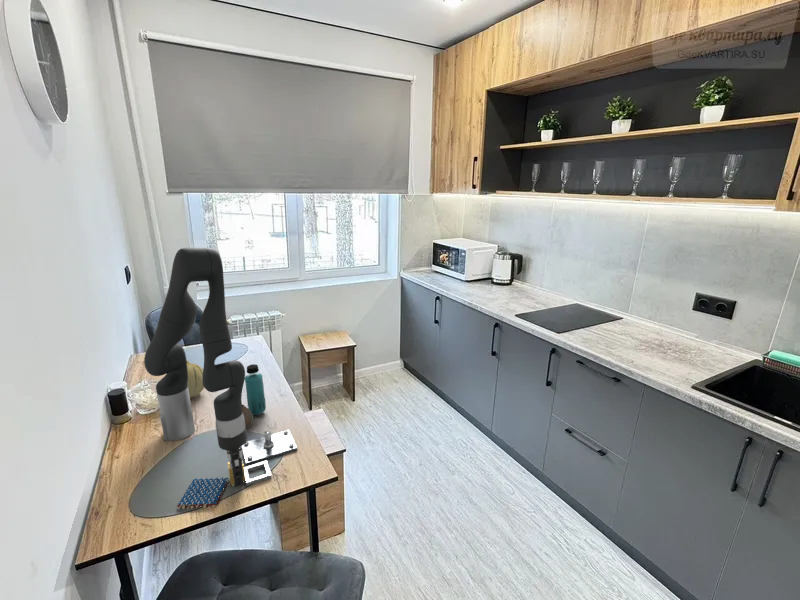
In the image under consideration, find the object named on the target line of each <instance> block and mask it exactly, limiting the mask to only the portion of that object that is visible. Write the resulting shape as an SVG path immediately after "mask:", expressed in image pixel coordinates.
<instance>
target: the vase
mask: <svg viewBox="0 0 800 600" xmlns="http://www.w3.org/2000/svg"><path fill="white" fill-rule="evenodd" d="M242 409H243V415H244V418H245V426H246V430H248V429H249V428H250V427H252V424H253V419H254V418H253V414H252V413H251V411H250V410H249V409H248V407H247V406H245V405H244V404H242Z"/></svg>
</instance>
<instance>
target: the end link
mask: <svg viewBox="0 0 800 600" xmlns="http://www.w3.org/2000/svg"><path fill="white" fill-rule="evenodd" d="M227 468H228V475H229V482H230V486H231V485H233V484H235V481H234V478H233V470H232V469H231V468H230V463H229V462H227ZM262 468H264V471H265V472H266V473H265V474H261V475H258V476H256V477H253V478H250V477H249V472H252V471H255V470H257V469H262ZM242 469H243V473H244V475H243V481H246V482H245V484H246V486H247V485H249V486H251V485H250V484H252V485H254V483H255V484H257V482H258V483H260V482H264V481H266V480H269V479H272V473H271V469H270V467H269V463H268V460H264V461H260V462H257V463H254V464H251V465H247V466H245V465H244V463H243V465H242ZM251 470H252V471H251ZM248 471H249V472H248Z"/></svg>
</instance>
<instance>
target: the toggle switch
mask: <svg viewBox="0 0 800 600" xmlns="http://www.w3.org/2000/svg"><path fill="white" fill-rule="evenodd" d="M263 435H264V436H262V437H258V438H255V439H251V440H246V442H245V444H244V445H242V446H241V448H242V456H243V459H245V460H244V462H245V466H246V465H247V466H250V464H251V465H254V464H257V463H260V462H263V461H268V460H269V459H273V458H276V457H277V458H278V457H279V456H282V455H286V454H289V453H292V452H295V451H298V446H297V444H296V442H295V439H294V438H293V434H292V433H291V431H290V429H286V430H283V431H280V432H276V433H273V434H272V431H271V430H266V431H264V434H263ZM253 463H254V464H253Z"/></svg>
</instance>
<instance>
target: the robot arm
mask: <svg viewBox="0 0 800 600" xmlns="http://www.w3.org/2000/svg"><path fill="white" fill-rule="evenodd" d="M224 279H225V278H224V268H223V261H222V258H221V254H220V252H219V251H218V250H216V249H215V248H213V247H212V248H211V247H183V248H180V249H178V250H177V251H176V253H175V256H174V259H173V263H172V267H171V275H170V280H169V286H168V289H167V293H166V297H165V300H164V303H163V306H162V308H161V311H160V314H159V318H158V323H157V325H156V327H155V328H156V329H155V332H154V334H153V337H152V339H151V342H150V343H149V345H148V346H147V350H146V351H145V354H144V361H143V363H144V364H143V365H144V368H145V370H146V371H147V373H148V374H150V375H151V376H153V377H160V376H163V377H162V378H161V379H159V381H157V383H156V385H155V390H156V397H157V401H158V406H159V412H160V416H159V417H160V421H161V429H162V433H163V438H164V441H165V442H167V441H174V442H175V441H180V440H183V439H186V438H189V436H191V435H192V434H193V433H194V432H195V431H196V430H195V429H196V428H195V427H196V426H195V422H194V421H195V420H194V415H193V408H192V403H191V402H192V401H191V398H190V395H189V389H188V383H187V382H188V371H187V361H188V360H187V356H186V351H185V349H184V347H183V346H182V344H180V342H181V341H182V340H183V339H184V338H185V337H186V336H187V335H188V334H189V333H190V331H192V328H193V326H194V323H195V321H196V318H197V316H198V308H197V304H196V303H195V301H194V299H193V297H192V296H191V295H190V294H189V291H188V288H189V286H190V284H191V283H194V282H207V283H208V288H209V290H208V298H207V302H206V304H205V307H204V310H203V312H202V314H201V317H200V320H199V333H200V334H199V335H200V339H201V343H202V349H203V368H202V369H203V377H202V382H203V386H204V389H205V390H206V391H207V392H209V393H217V392H219V391H223V390H226V391H224V392H222V393H219V394H218V395H217V396H216V397H215V398H214V399H213V410H214V416H215V430H216V436H217V442H218V448H220V449H221V450H223V451H226V455H227V459H228V463H230V468H231V469H232V470H233V478H234V481H235V485H234V486H235V487H236V488H237V487H241V486H243V485H244V482H243V475H244V473H243V469H242V465H243V464H244V461H243V459H244V458H243V451H242V445H244V444H245V442H247V441H248V436H247V429H246V426H245V418H244V415H243V409H242V405H243V403H242V396H243V395H242V394H243V389H244V383H245V377H246V370H245V366H244V364H243V363H242V362H240V361H239V360H235V359H234V360H230V361H225V362H222V363H221V362H220V363H218V364H215V362H216V360H217V358H218V357H220V356H223V355H225V354H227V353H230V352H231V351H232V350H233V349H232V348H233V345H232V340H231V335H230V334H231V333H230V330H229V326H228V321H227V313H226V299H225V297H226V295H225V280H224Z"/></svg>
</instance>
